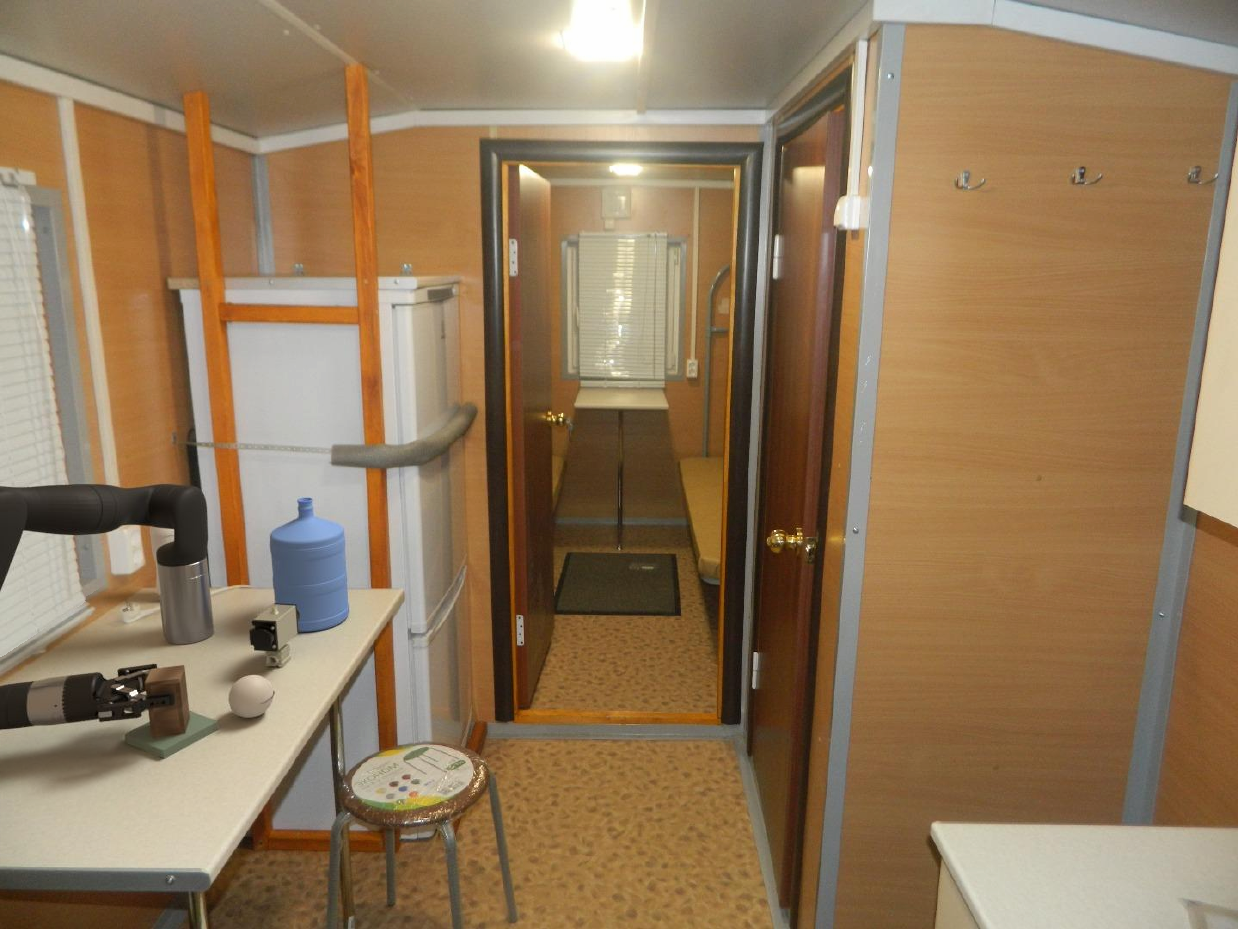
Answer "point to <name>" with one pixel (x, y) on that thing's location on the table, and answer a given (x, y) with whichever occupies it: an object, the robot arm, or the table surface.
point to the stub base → (171, 736)
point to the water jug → (311, 568)
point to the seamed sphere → (251, 696)
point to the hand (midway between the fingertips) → (179, 685)
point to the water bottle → (159, 545)
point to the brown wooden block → (168, 717)
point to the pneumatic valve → (275, 632)
